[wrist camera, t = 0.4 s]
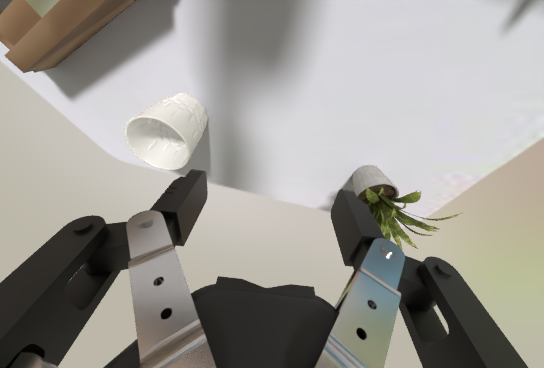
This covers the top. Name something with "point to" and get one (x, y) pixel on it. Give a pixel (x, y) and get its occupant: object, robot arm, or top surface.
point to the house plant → (386, 203)
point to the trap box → (51, 28)
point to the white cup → (167, 131)
